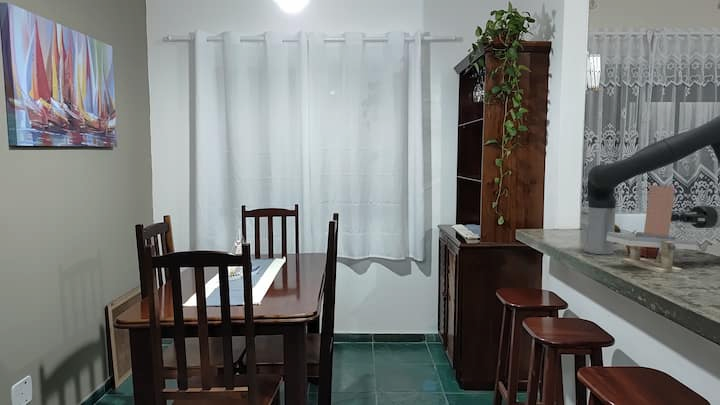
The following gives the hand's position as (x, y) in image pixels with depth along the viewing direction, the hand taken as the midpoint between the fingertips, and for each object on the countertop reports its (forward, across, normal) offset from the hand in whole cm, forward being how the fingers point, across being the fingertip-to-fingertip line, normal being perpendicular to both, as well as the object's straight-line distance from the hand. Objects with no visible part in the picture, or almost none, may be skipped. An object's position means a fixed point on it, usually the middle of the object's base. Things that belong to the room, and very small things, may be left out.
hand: (665, 217), depth 163 cm
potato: (-15, -45, +16) cm, 50 cm away
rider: (+3, 0, +8) cm, 8 cm away
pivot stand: (+5, 0, +16) cm, 17 cm away
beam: (+5, 0, +8) cm, 10 cm away
